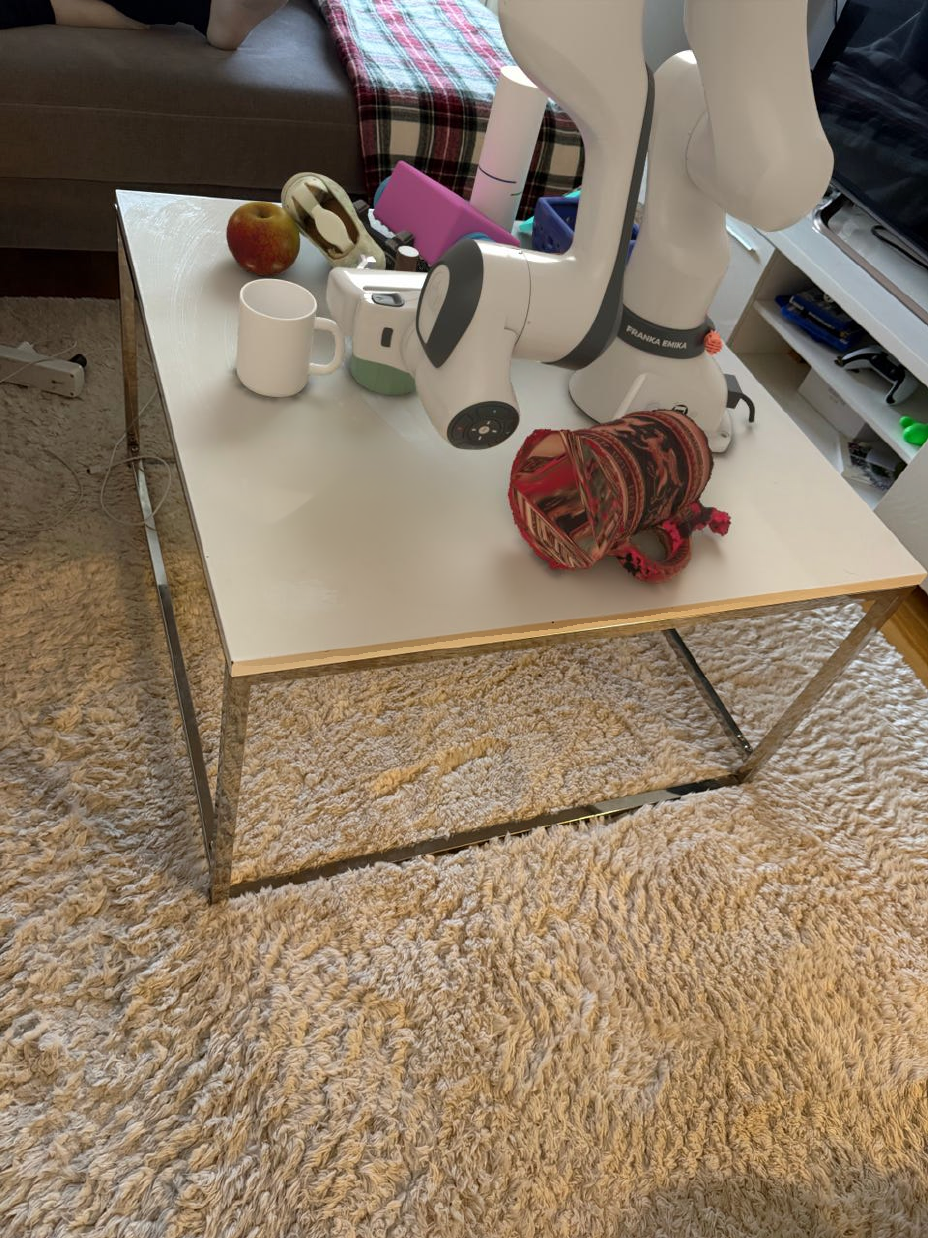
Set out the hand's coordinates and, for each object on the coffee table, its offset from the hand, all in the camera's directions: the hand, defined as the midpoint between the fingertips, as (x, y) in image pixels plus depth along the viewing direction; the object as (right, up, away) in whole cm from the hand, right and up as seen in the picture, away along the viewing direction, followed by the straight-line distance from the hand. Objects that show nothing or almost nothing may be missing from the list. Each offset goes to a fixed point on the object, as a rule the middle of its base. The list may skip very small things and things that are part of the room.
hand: (405, 263), depth 100 cm
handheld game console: (+20, +24, +37) cm, 49 cm away
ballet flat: (-10, +12, +19) cm, 25 cm away
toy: (-1, +15, +20) cm, 25 cm away
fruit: (-21, +7, +20) cm, 29 cm away
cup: (-14, -12, +5) cm, 19 cm away
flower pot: (+23, +9, +34) cm, 42 cm away
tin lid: (-1, -4, +4) cm, 6 cm away
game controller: (-5, +9, +26) cm, 28 cm away
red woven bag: (+19, -19, +1) cm, 27 cm away
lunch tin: (-3, -10, +10) cm, 14 cm away
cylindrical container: (+9, +16, +37) cm, 42 cm away
